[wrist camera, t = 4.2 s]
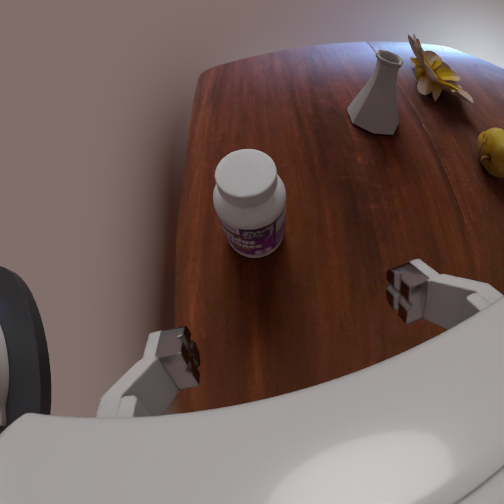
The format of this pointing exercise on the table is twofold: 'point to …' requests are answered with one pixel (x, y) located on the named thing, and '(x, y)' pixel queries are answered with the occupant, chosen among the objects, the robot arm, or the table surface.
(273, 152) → the table surface
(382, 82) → the flask
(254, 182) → the pill bottle
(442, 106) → the table surface
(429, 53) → the decorative flower
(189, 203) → the table surface
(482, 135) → the fruit
